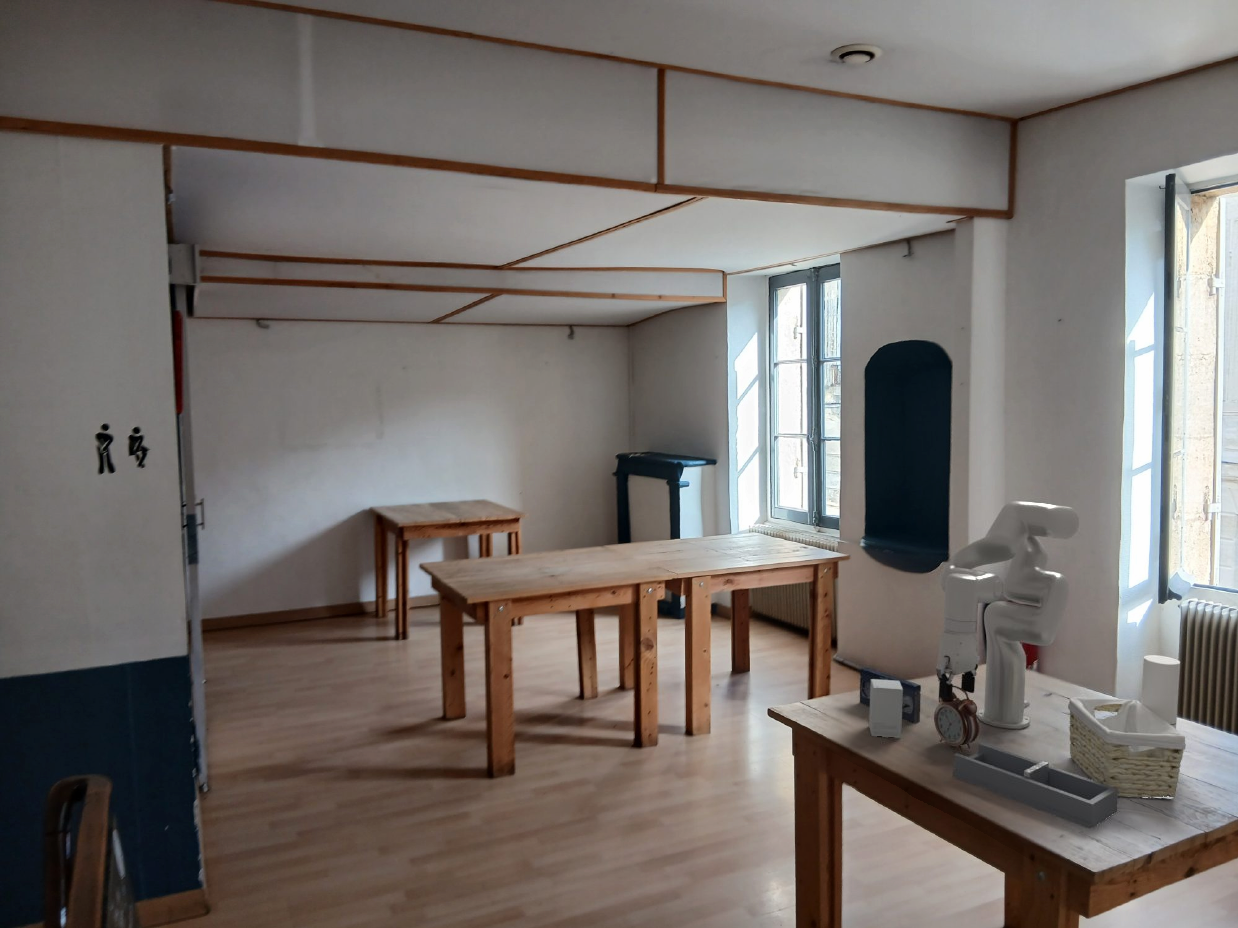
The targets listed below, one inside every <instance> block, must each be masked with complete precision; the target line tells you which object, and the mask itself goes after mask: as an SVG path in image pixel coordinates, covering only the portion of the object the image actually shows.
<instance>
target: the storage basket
mask: <svg viewBox="0 0 1238 928" xmlns="http://www.w3.org/2000/svg"><path fill="white" fill-rule="evenodd" d="M1067 709H1068V711H1069V728H1068V729H1069V734H1070V735H1069V742H1070V744H1069V751H1070V753H1069V754H1070V755H1069V756H1070V758H1071V759H1072V760H1073V761H1074V763H1076V765H1077V766H1079V767H1080V768H1081V770H1083V771H1084V773H1085V774H1086V775H1088V776H1089V779H1090V780H1093V781H1096V782H1099V783H1102V784H1105V785H1108V786H1111V787H1114V788H1117V789H1118V797H1122V798H1123V797H1125V798H1128V797H1129V798H1133V797H1136V798H1141V797H1148V799H1151V798H1150V797H1163V796H1164V797H1167V796H1169V797H1174V798H1176V792H1177V788H1178V783H1179V777H1180V776H1179V775H1180V774H1179V773H1180V772H1181V769H1180V768H1181V762H1182V761H1183V754H1184V751H1185V750H1186V736H1185V735H1184V734H1183V733H1181V732H1180V731H1179V730H1178V729H1177V728H1176V729H1175V728H1174V727H1173V726H1171V725H1170V724H1168V723H1167V722H1166V721H1164V720H1163V719H1162V718H1160V717H1159V716H1157V715H1156V714H1155V713H1153V712H1152V711H1151V710H1150V709H1148V708H1147V707H1146V706H1144V705H1143V704H1141V702H1140V701H1139V700H1137V699H1123V698H1122V699H1121V698H1107V697H1106V698H1104V697H1103V698H1102V697H1101V698H1100V697H1078V696H1073V697H1071V698H1070V699H1069V702H1068V705H1067ZM1095 711H1098V712H1101V711H1102V712H1109V713H1116V714H1114V715H1111V716H1107V717H1105V718H1100V719H1099V718H1096V714H1095Z"/></svg>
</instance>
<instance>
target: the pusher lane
mask: <svg viewBox="0 0 1238 928" xmlns="http://www.w3.org/2000/svg"><path fill="white" fill-rule="evenodd" d="M953 757H954V758H953V771H952V777H953V778H955V779H959V780H960V781H963V782H965V783H969V784H971V785H974V786H975V787H979V788H981V789H983V790H987V791H990V792H992V793H995V794H998V795H1000V796H1003V797H1004V798H1008V799H1010V800H1013V801H1015V802H1018V803H1020V804H1024V805H1026V806H1029V807H1031V808H1035V809H1037V810H1040V811H1042V812H1044V813H1048V814H1050V815H1052V816H1055V817H1058V818H1060V819H1063V820H1065V821H1069V822H1071V823H1074V824H1076V825H1079V826H1081V827H1083V828H1087V829H1089V830H1092V829H1093V828H1095V827H1097V826H1098V825H1100V824H1101V823H1103V822H1104V821H1106V820H1107V819H1109V818H1110V817H1112V816H1113V815H1112V814H1114V813H1115V814H1117V813H1118V812H1117V811H1118V810H1119V808H1118V802H1119V801H1118V798H1119V796H1118V789H1117V788H1114V787H1111V786H1108V785H1105V784H1102V783H1099V782H1096V781H1093V780H1092V779H1091V778H1087V777H1084V776H1081V775H1079V774H1075V773H1072V772H1069V771H1066V770H1063V769H1061V768H1058V767H1055V766H1052V765H1049V769H1048V785H1044V784H1042V783H1039V782H1036V781H1033V780H1030V779H1028V778H1025V777H1024V771H1025V770H1027V769H1029V768H1031V767H1033V766H1035V765H1037V764H1039V763H1041V762H1039V761H1036V760H1035V759H1031V758H1028V757H1025V756H1022V755H1020V754H1016V753H1014V752H1010V751H1008V750H1004V749H1001V748H998V747H996V746H992V745H989V744H987V743H984V742H980V743H978V752H975V753H974V754H971V755H970V756H966V755H963V754H959V753H955V754H953ZM1116 812H1117V813H1116ZM1115 814H1114V815H1115ZM1111 815H1112V816H1111ZM1109 816H1110V817H1109ZM1108 817H1109V818H1108ZM1106 818H1107V819H1106ZM1105 819H1106V820H1105ZM1102 821H1103V822H1102ZM1099 823H1100V824H1099ZM1097 824H1098V825H1097Z"/></svg>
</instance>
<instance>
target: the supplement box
mask: <svg viewBox="0 0 1238 928" xmlns="http://www.w3.org/2000/svg"><path fill="white" fill-rule="evenodd" d="M902 699H903V689H902V686H901V684H900V681H895V680H878V679H871V686H870V707H869V716H868V717H869V722H868V727H869V731H870V734H871V737H877V736H882V737H881V738H888V737H895V738H894V739H901V738H902V728H903V727H902V726H903V723H902V721H903V719H902Z"/></svg>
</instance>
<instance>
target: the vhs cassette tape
mask: <svg viewBox="0 0 1238 928" xmlns="http://www.w3.org/2000/svg"><path fill="white" fill-rule="evenodd" d="M859 673H860V674H859V676H860V678H859V704H861V705H863V706H866V707H869V708H870V686H871V679H878V680H895V681H900V684H901V686H902V689H903V699H902V720H903V719H904V721H906V720H907V722H909V723H911V722H912V723H911V724H916V723H918V722H920V721H921V692H922V691H921V690H922V686H921V684H918V683H915V682H912V681H909V680H906V679H903V678H900V677H898V676H893V675H890V674H888V673H884V672H881V671H879V670H876V669H875V670H874V669H871V668H868V667H862V668H860V670H859Z"/></svg>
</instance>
